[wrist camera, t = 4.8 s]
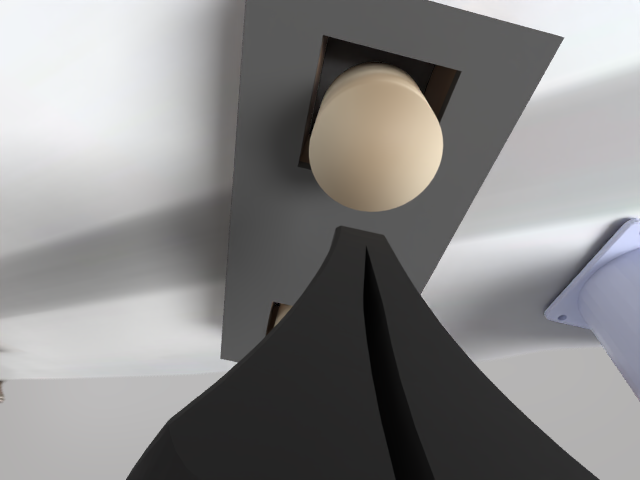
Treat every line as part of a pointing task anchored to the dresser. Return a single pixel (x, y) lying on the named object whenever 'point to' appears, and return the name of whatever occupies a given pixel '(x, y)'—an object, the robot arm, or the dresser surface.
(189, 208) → the dresser surface
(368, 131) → the peg
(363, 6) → the block
